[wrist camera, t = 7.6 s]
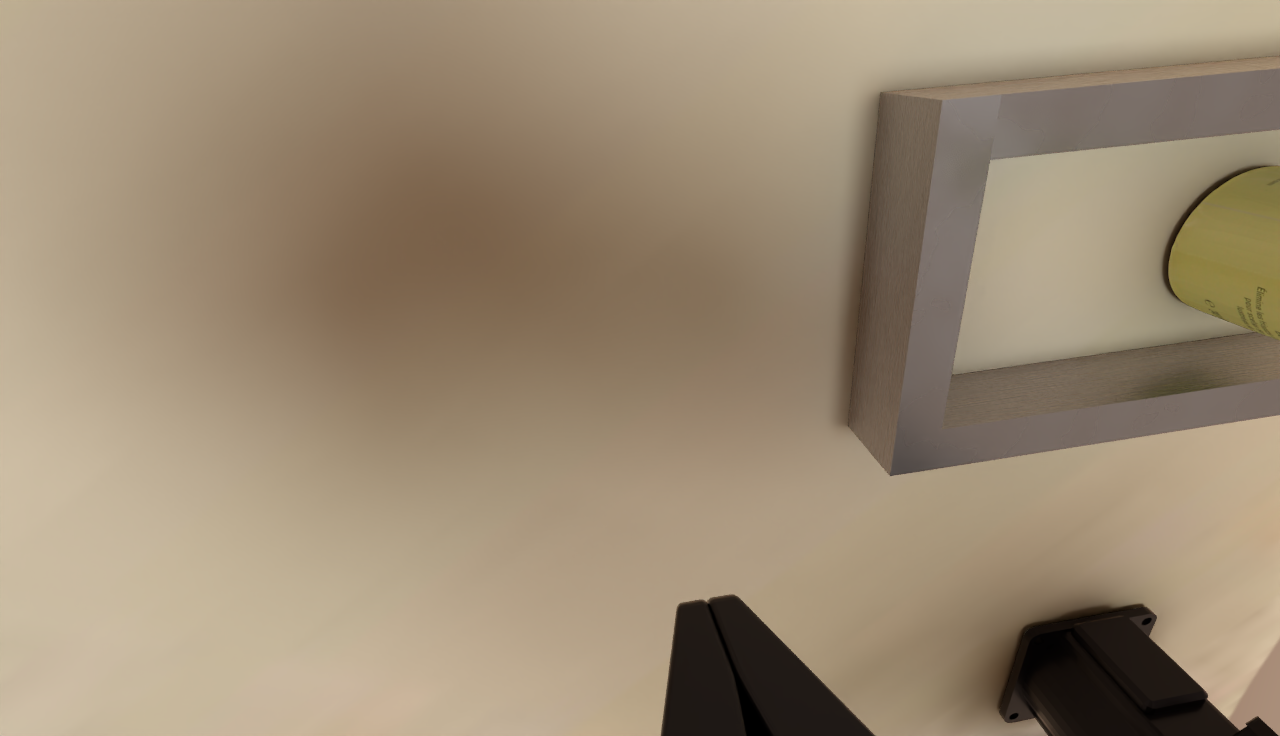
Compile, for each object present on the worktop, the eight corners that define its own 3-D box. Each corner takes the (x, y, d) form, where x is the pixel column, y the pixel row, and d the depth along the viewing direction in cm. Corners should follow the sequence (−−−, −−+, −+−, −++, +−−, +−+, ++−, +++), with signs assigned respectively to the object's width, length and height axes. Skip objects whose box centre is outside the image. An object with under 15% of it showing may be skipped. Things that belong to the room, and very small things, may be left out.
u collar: (1279, 362, 24) (1370, 400, 22) (848, 426, 23) (890, 476, 20) (1423, 42, 19) (1565, 41, 17) (880, 92, 17) (942, 100, 15)
